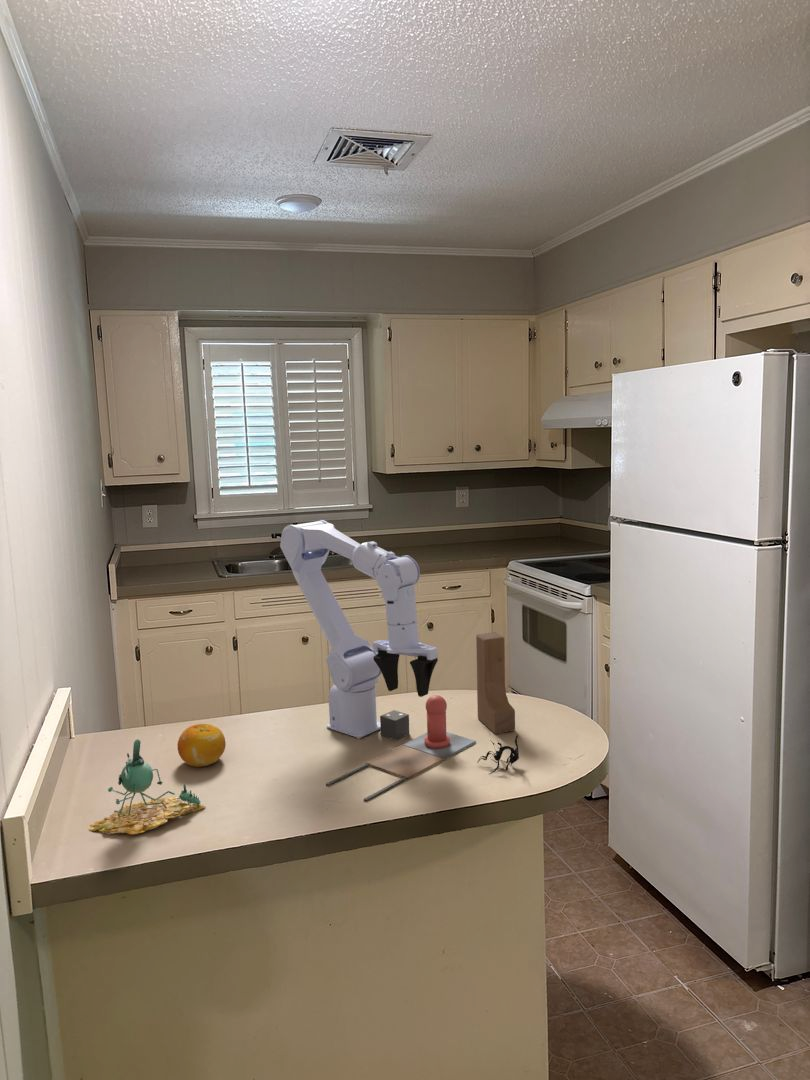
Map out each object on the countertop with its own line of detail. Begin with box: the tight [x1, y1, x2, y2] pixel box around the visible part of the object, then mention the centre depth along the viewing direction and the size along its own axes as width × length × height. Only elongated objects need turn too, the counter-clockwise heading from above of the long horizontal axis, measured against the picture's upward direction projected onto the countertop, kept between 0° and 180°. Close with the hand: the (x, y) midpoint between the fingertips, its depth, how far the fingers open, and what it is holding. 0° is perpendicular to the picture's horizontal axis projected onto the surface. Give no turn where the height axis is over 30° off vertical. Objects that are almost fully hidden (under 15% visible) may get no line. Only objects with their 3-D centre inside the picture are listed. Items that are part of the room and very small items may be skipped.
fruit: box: [177, 723, 227, 768], centre depth 146 cm, size 8×8×8 cm
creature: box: [477, 735, 520, 775], centre depth 141 cm, size 8×5×8 cm
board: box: [325, 731, 477, 803], centre depth 144 cm, size 10×30×1 cm, turn 139°
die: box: [379, 709, 410, 741], centre depth 156 cm, size 4×4×4 cm
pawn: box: [424, 694, 450, 749], centre depth 150 cm, size 5×5×10 cm
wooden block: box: [475, 632, 516, 735], centre depth 158 cm, size 9×4×18 cm, turn 17°
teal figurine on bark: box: [87, 738, 206, 836], centre depth 124 cm, size 10×18×15 cm, turn 101°
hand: (407, 692), depth 150 cm, fingers open, 7 cm apart
